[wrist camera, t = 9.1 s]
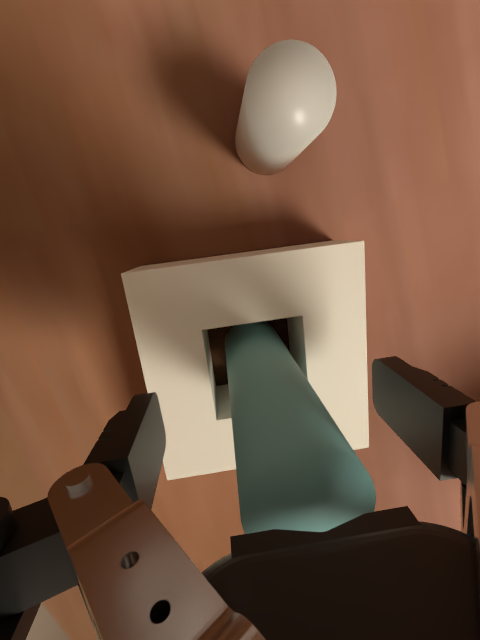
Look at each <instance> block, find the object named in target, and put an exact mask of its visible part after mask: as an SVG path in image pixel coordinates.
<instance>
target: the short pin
mask: <svg viewBox="0 0 480 640" xmlns="http://www.w3.org/2000/svg"><path fill="white" fill-rule="evenodd" d="M335 103H336V82H335V77H334V74H333V71H332V68H331V66H330V64H329V63H328V61H327V59H326V58H325V57H324V55H323V54H322V53H321V52H320V51H319V50H318V49H316V48H315V47H314V46H312V45H310V44H308V43H306V42H303V41H300V40H283V41H279V42H276V43H274V44H272V45H270V46H268V47H267V48H266V49H264V50H263V51H262V52H261V53H260V54H259V55H258V57H257V58H256V59H255V61H254V62H253V64H252V66H251V68H250V70H249V72H248V76H247V79H246V84H245V89H244V94H243V99H242V104H241V109H240V114H239V119H238V124H237V129H236V134H235V146H236V151H237V154H238V156H239V158H240V160H241V162H242V163H243V164H244V165H245V166H246V167H247V168H248V169H249V170H251V171H252V172H254V173H257V174H260V175H272V174H276V173H278V172H280V171H282V170H283V169H285V168H286V167H287V166H288V165H289V164H290V163H291V162H292V161H293V160H294V159H295V158H296V157H297V156H298V155H299V154H300V153H301V152H302V151H303V150H304V149H305V148H306V147H307V146H308V145H309V144H310V143H311V142H312V141H313V140H314V139H315V138H316V137H317V136H318V135H319V134H320V133H321V132H322V131H323V130H324V128H325V127H326V126H327V124H328V123H329V121H330V119H331V117H332V114H333V111H334V107H335Z"/></svg>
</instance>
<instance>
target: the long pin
mask: <svg viewBox="0 0 480 640" xmlns="http://www.w3.org/2000/svg"><path fill="white" fill-rule="evenodd" d="M225 354H226V364H227V375H228V386H229V397H230V408H231V418H232V429H233V440H234V451H235V461H236V472H237V483H238V494H239V505H240V515H241V522H242V526H243V529H244V531H245V534H249V533H255V532H261V531H266V530H272V529H281V530H296V531H312V532H325V531H328V530H330V529H332V528H335V527H337V526H339V525H341V524H343V523H345V522H347V521H350V520H352V519H354V518H356V517H358V516H360V515H362V514H365V513H370V512H374V508H375V502H376V494H375V487H374V484H373V481H372V479H371V477H370V475H369V473H368V472H367V470H366V469H365V467H364V466H363V464H362V463H361V461H360V460H359V458H358V457H357V455H356V454H355V452H354V450H353V449H352V447H351V446H350V444H349V443H348V441H347V440H346V438H345V437H344V435H343V434H342V432H341V431H340V429H339V427H338V426H337V424H336V423H335V421H334V420H333V418H332V417H331V415H330V414H329V412H328V411H327V409H326V408H325V406H324V404H323V403H322V401H321V400H320V398H319V397H318V395H317V394H316V392H315V391H314V389H313V388H312V386H311V385H310V383H309V381H308V380H307V378H306V377H305V375H304V374H303V372H302V371H301V369H300V368H299V366H298V365H297V363H296V362H295V360H294V358H293V357H292V355H291V354H290V352H289V351H288V349H287V348H286V346H285V345H284V343H283V342H282V340H281V339H280V337H279V336H278V334H277V332H276V331H275V329H274V328H273V327H272V326H271V325H270V324H269V323H268V322H266V321H261V322H254V323H247V324H240V325H233V326H232V327H231V328H230V330H229V331H228V333H227V335H226V338H225Z"/></svg>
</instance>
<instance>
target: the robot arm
mask: <svg viewBox="0 0 480 640" xmlns="http://www.w3.org/2000/svg"><path fill="white" fill-rule="evenodd" d="M372 387H373V403H374V406H375V409H376V411H377V413H378V414H379V416H380V417H381V418H382V419H383V420H384V421H385V422H386V423H387V424H388V425H389V426H390V427H391V429H392V430H393V431H394V432H395V433H396V434H397V435H398V436H399V437H400V438H401V439H402V440H403V441H404V443H405V444H406V445H407V446H408V447H409V448H410V449H411V450H412V451H413V452H414V453H415V454H416V455H417V456H418V458H419V459H420V460H421V461H422V462H423V463H424V464H425V465H426V466H427V467H428V468H429V469H430V470H431V472H432V473H433V474H434V475H435V476H436V477H437V478H438V479H439V480H440V481H442V480H448V479H454V478H459V479H460V480H461V488H460V501H461V531H458V530H455V529H452V528H449V527H446V526H442V525H438V524H433V523H427V522H418V520H417V519H416V517H415V516H414V515H413V513H412V512H411V510H410V509H409V508H408V506H405V507H399V508H393V509H388V510H382V511H376V512H370V513H365V514H362V515H360V516H358V517H356V518H354V519H352V520H350V521H347V522H345V523H343V524H341V525H339V526H337V527H335V528H332V529H330V530H328V531H325V532H312V531H296V530H281V529H272V530H266V531H261V532H255V533H249V534H243V535H237V536H232V537H230V538H231V554H229V555H227V556H225V557H223V558H221V559H220V560H218V561H216V562H215V563H213V564H212V565H211V566H209V567H208V568H207V569H205V570H204V571H203V572H202V573H201V572H200V571H199V569H198V568H197V567H196V566H195V564H194V563H193V562H192V561H191V559H190V558H189V557H188V556H187V554H186V553H185V552H184V551H183V549H182V548H181V547H180V546H179V544H178V543H177V542H176V541H175V539H174V538H173V537H172V536H171V534H170V533H169V532H168V531H167V529H166V528H165V527H164V526H163V524H162V523H161V522H160V521H159V519H158V518H157V517H156V516H155V514H154V513H153V512H152V511H151V508H152V504H153V500H154V495H155V491H156V487H157V482H158V478H159V474H160V470H161V465H162V461H163V457H164V453H165V448H166V433H165V428H164V423H163V418H162V414H161V409H160V404H159V400H158V396H157V394H156V393H155V392H153V393H146V394H139V395H134V396H133V398H132V400H131V402H130V403H129V405H128V407H127V409H126V410H125V411H119V412H118V413H117V414H116V415H115V416H114V417H112V418H111V419H110V420H109V421H108V423H107V425H106V426H105V428H104V430H103V432H102V433H101V435H100V437H99V440H98V441H97V442H96V444H95V445H94V447H93V449H92V451H91V452H90V454H89V456H88V457H87V459H86V461H85V463H84V464H83V465H82V466H79V467H77V468H74V469H72V470H71V471H69V472H67V473H66V474H64V475H63V476H61V477H60V478H59V479H58V480H57V481H56V482H55V483H54V484H53V485H52V486H51V488H50V490H49V492H48V496H47V498H45V499H43V500H40V501H38V502H35V503H32V504H30V505H27V506H25V507H22V508H19V509H17V510H14V511H12V508H11V506H10V503H9V501H8V500H7V499H6V498H4V497H0V640H26V637H27V635H28V632H29V630H30V628H31V625H32V623H33V621H34V618H35V616H36V614H37V611H38V609H39V607H40V604H41V602H43V601H45V600H47V599H49V598H51V597H53V596H55V595H57V594H60V593H62V592H64V591H66V590H68V589H70V588H72V587H74V586H76V585H78V587H79V590H80V593H81V595H82V598H83V601H84V603H85V606H86V609H87V611H88V614H89V617H90V619H91V622H92V625H93V627H94V630H95V632H96V635H97V638H98V640H480V401H478V402H476V401H474V400H472V399H471V398H469V397H468V396H466V395H464V394H463V393H461V392H460V391H458V390H456V389H455V388H453V387H452V386H448V384H447V383H445V382H444V381H442V380H439V378H437V377H436V376H434V375H432V374H431V373H429V372H427V371H424V370H421V369H418V368H415V367H412V366H411V365H409V364H407V363H406V362H404V361H403V360H401V359H400V358H398V357H396V356H393V357H386V358H380V359H375V360H374V361H373V363H372Z"/></svg>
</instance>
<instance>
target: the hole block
mask: <svg viewBox="0 0 480 640" xmlns="http://www.w3.org/2000/svg"><path fill="white" fill-rule="evenodd" d="M121 277H122V281H123V286H124V290H125V295H126V299H127V303H128V308H129V312H130V317H131V321H132V326H133V330H134V335H135V339H136V343H137V348H138V352H139V357H140V361H141V366H142V370H143V375H144V379H145V383H146V388H147V392H148V393H153V392H155V393H156V394H157V396H158V400H159V404H160V409H161V414H162V418H163V423H164V428H165V433H166V448H165V453H164V457H163V463H164V468H165V472H166V477H167V480H172V479H178V478H185V477H191V476H197V475H203V474H209V473H215V472H221V471H227V470H233V469H236V461H235V451H234V440H233V429H232V418H231V408H230V397H229V386H228V384H227V385H220V386H216V382H215V376H214V370H213V363H212V357H211V351H210V345H209V339H208V332H207V329H212V328H219V327H226V326H233V325H240V324H247V323H254V322H261V321H268V320H275V319H282V318H287V325H288V336H289V347H290V354H291V355H292V357H293V358H294V360H295V362H296V363H297V365H298V366H299V368H300V369H301V371H302V372H303V374H304V375H305V377H306V378H307V380H308V381H309V383H310V385H311V386H312V388H313V389H314V391H315V392H316V394H317V395H318V397H319V398H320V400H321V401H322V403H323V404H324V406H325V408H326V409H327V411H328V412H329V414H330V415H331V417H332V418H333V420H334V421H335V423H336V424H337V426H338V427H339V429H340V431H341V432H342V434H343V435H344V437H345V438H346V440H347V441H348V443H349V444H350V446H351V447H352V449H353V450H355V449H361V448H367V447H369V428H368V384H367V341H366V298H365V255H364V241H348V240H332V241H324V242H317V243H309V244H302V245H294V246H287V247H279V248H272V249H264V250H257V251H249V252H242V253H235V254H227V255H220V256H212V257H205V258H197V259H190V260H182V261H175V262H167V263H160V264H152V265H145V266H140V267H137V268H134V269H131V270H129V271H126V272H123V273H121Z"/></svg>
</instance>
